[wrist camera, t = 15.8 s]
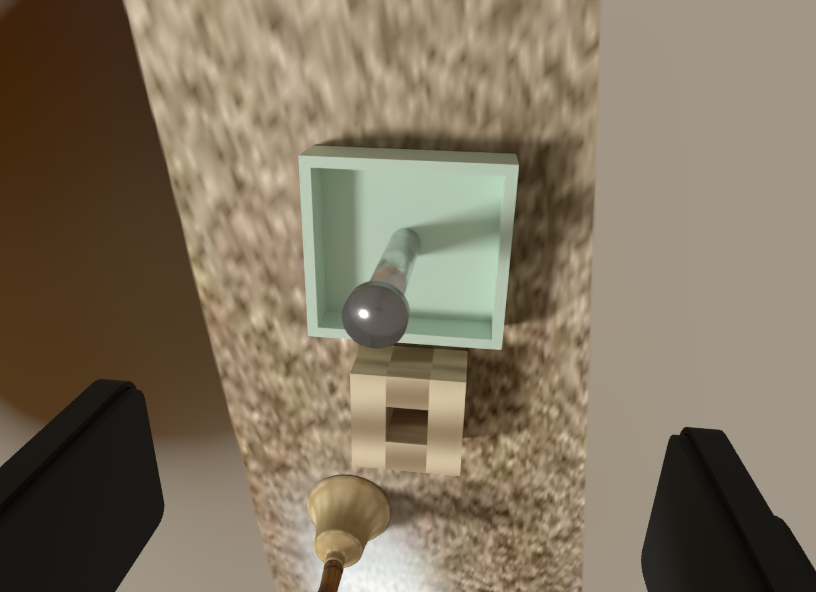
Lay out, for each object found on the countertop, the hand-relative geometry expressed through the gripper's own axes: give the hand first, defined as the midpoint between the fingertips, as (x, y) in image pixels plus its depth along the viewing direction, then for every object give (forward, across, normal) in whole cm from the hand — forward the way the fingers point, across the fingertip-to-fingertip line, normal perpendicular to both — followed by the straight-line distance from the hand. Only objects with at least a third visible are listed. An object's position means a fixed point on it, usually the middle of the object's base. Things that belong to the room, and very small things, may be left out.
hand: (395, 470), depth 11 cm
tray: (+36, +4, +8) cm, 37 cm away
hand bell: (+36, +9, +36) cm, 52 cm away
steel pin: (+35, +4, +8) cm, 36 cm away
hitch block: (+36, +3, +22) cm, 43 cm away
